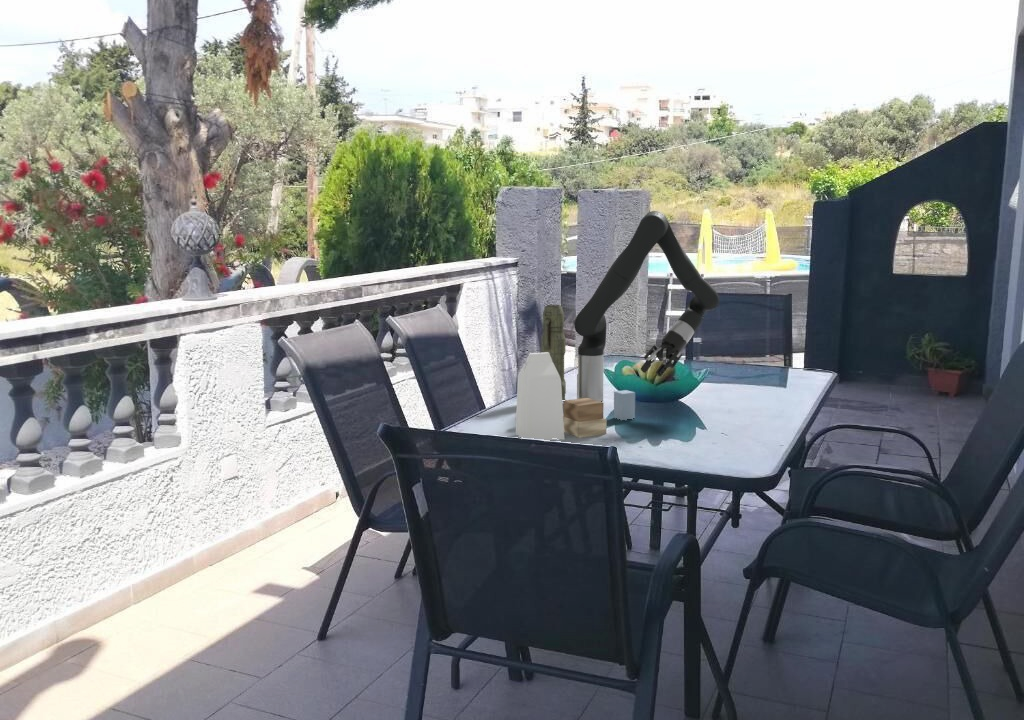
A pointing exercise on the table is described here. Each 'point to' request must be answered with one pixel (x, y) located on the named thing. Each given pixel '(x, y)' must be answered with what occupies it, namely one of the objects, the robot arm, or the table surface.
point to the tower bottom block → (585, 427)
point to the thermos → (554, 339)
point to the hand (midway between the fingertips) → (650, 373)
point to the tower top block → (583, 409)
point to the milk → (539, 399)
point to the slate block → (624, 404)
